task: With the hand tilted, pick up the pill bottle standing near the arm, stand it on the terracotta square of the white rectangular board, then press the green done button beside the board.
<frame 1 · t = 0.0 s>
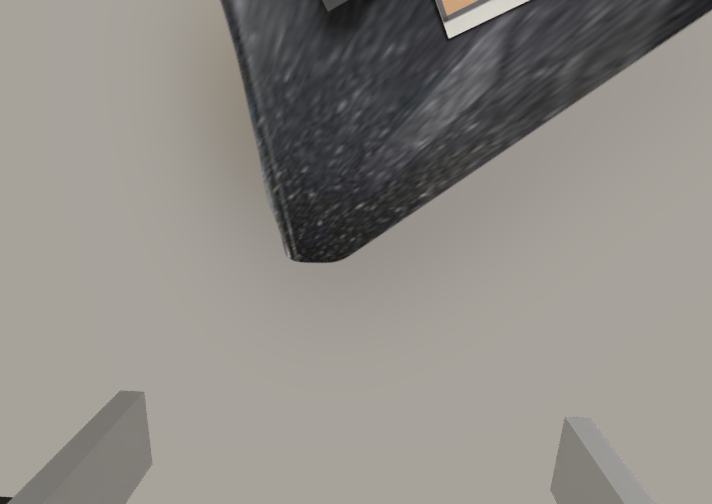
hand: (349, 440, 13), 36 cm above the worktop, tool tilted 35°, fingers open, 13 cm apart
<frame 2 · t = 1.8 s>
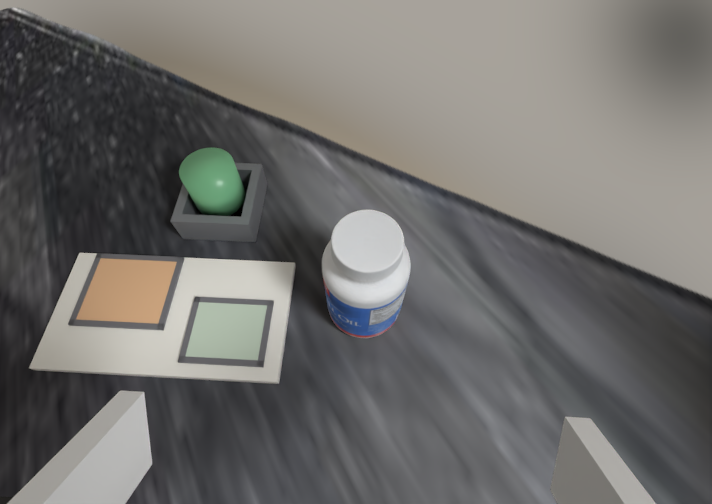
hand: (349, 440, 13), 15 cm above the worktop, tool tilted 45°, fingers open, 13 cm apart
white rectangular board: (173, 314, 31), on the worktop
button frame: (227, 210, 35), on the worktop
pill bottle: (364, 306, 31), on the worktop
done button: (214, 183, 32), point 4 cm above the worktop, slide at 0.0 cm
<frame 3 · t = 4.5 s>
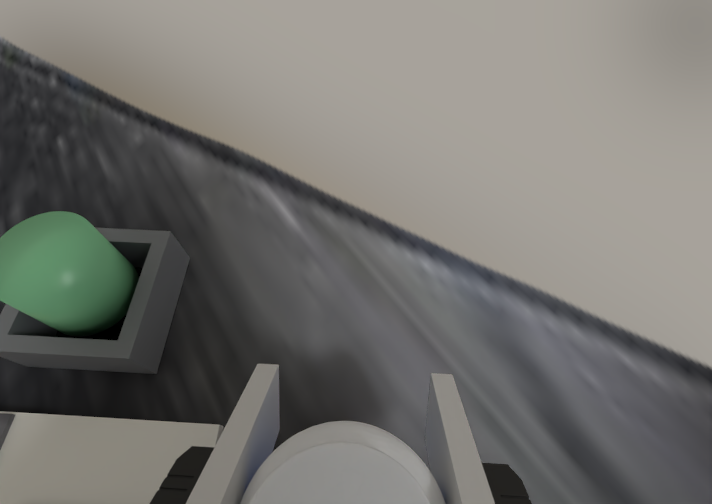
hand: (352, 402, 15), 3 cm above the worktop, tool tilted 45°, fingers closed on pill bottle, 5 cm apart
button frame: (114, 308, 20), on the worktop
done button: (69, 275, 17), point 4 cm above the worktop, slide at 0.0 cm
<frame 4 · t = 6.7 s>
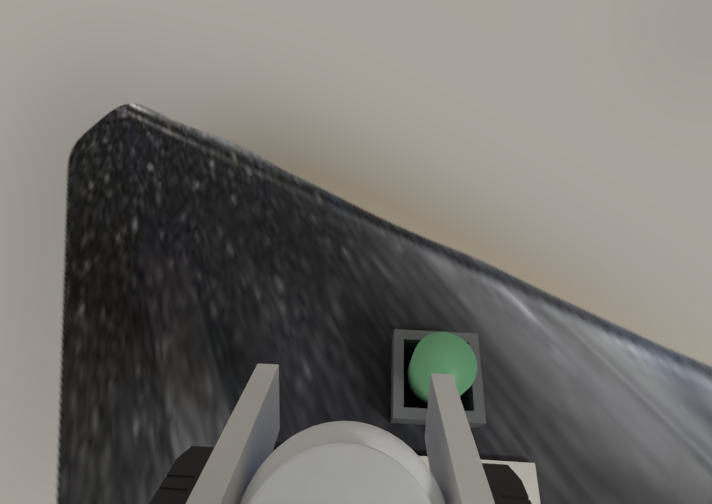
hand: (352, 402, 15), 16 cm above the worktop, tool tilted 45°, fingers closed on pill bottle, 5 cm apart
button frame: (431, 381, 31), on the worktop
done button: (440, 370, 27), point 4 cm above the worktop, slide at 0.0 cm
when the fingers open (5 cm above the worktop, at t = 8.9 s): pill bottle drops 1 cm, resting on white rectangular board.
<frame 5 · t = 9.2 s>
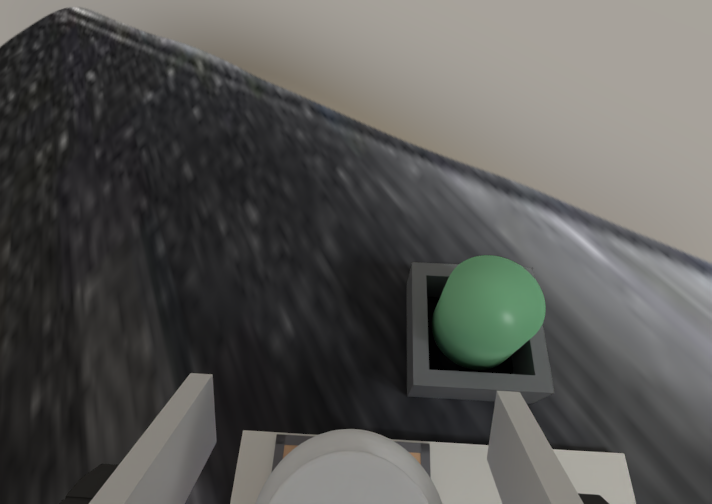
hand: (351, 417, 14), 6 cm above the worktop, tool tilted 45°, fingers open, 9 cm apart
button frame: (464, 339, 21), on the worktop
done button: (483, 314, 18), point 4 cm above the worktop, slide at 0.0 cm
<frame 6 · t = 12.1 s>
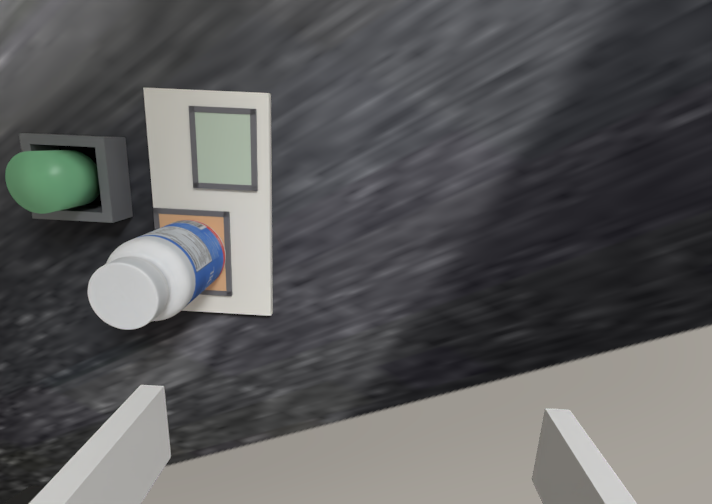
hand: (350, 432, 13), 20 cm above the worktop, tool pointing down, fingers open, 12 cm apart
white rectangular board: (214, 208, 32), on the worktop
button frame: (91, 175, 32), on the worktop
pill bottle: (195, 251, 32), point 1 cm above the worktop, touching white rectangular board
done button: (56, 180, 28), point 4 cm above the worktop, slide at 0.0 cm
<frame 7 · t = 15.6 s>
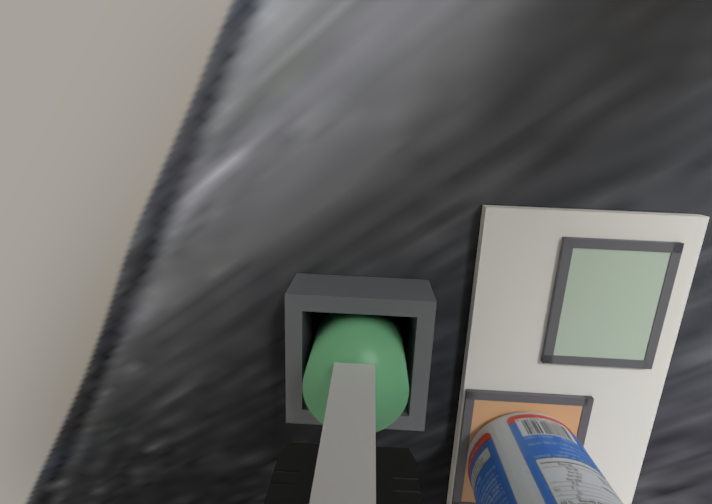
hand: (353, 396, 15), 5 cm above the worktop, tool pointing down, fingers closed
white rectangular board: (555, 384, 20), on the worktop
button frame: (359, 336, 20), on the worktop
pill bottle: (520, 451, 20), point 1 cm above the worktop, touching white rectangular board
done button: (357, 364, 17), point 3 cm above the worktop, slide at 1.1 cm, touching gripper
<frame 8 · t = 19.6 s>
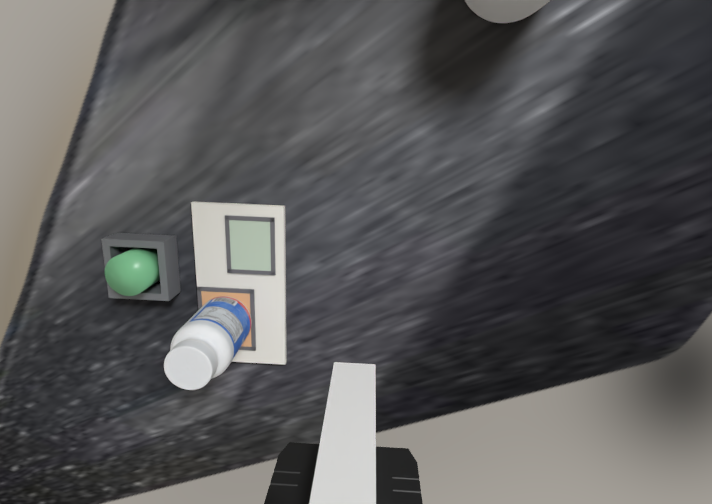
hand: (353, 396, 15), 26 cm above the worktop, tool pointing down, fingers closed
white rectangular board: (242, 285, 43), on the worktop
button frame: (149, 262, 42), on the worktop
pill bottle: (228, 317, 43), point 1 cm above the worktop, touching white rectangular board
done button: (136, 269, 40), point 2 cm above the worktop, slide at 1.2 cm
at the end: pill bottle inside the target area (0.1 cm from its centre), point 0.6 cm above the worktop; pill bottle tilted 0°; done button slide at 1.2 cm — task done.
